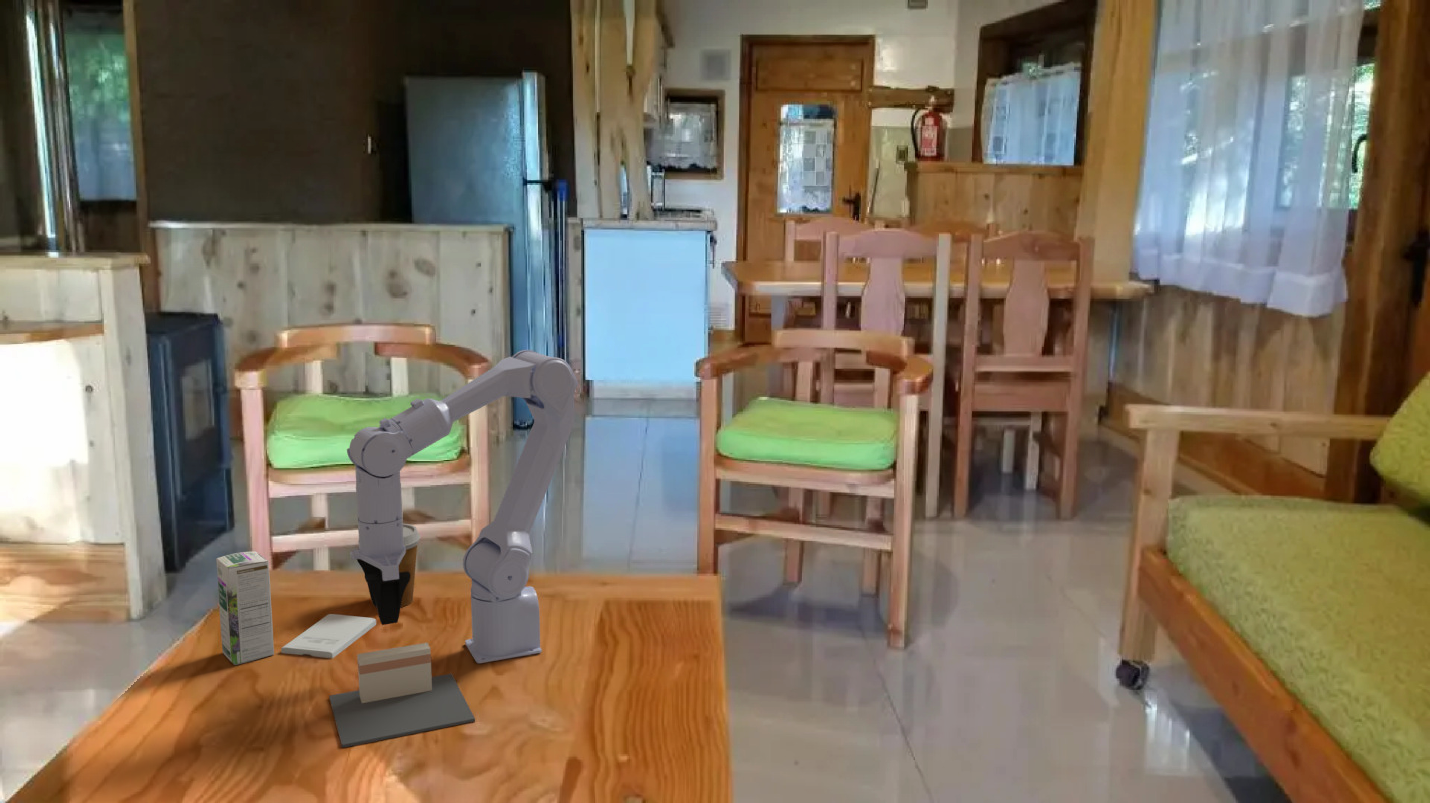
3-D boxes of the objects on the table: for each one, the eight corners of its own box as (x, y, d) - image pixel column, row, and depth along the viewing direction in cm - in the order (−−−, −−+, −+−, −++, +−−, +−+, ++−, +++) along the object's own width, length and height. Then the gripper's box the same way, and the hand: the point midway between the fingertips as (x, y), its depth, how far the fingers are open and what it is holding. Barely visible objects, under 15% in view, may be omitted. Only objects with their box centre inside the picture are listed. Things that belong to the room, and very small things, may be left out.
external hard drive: (376, 628, 166) (333, 662, 154) (328, 623, 167) (281, 656, 155) (376, 618, 165) (332, 651, 153) (327, 613, 167) (280, 645, 155)
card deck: (429, 684, 145) (427, 642, 144) (432, 690, 143) (430, 648, 142) (359, 696, 141) (357, 654, 140) (361, 703, 140) (359, 660, 138)
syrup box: (221, 653, 155) (213, 557, 152) (263, 642, 159) (256, 548, 156) (233, 666, 151) (225, 568, 148) (276, 655, 154) (269, 559, 152)
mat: (451, 676, 148) (451, 673, 148) (475, 721, 136) (474, 718, 136) (329, 698, 142) (329, 695, 142) (342, 747, 129) (342, 744, 129)
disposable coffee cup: (368, 592, 179) (364, 522, 176) (427, 590, 180) (424, 521, 177) (356, 614, 169) (352, 541, 167) (418, 612, 170) (414, 540, 168)
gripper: (342, 506, 148) (347, 599, 151) (356, 537, 135) (361, 638, 138) (394, 500, 151) (399, 592, 154) (413, 530, 138) (417, 629, 141)
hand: (385, 613), depth 146 cm, fingers open, 6 cm apart
